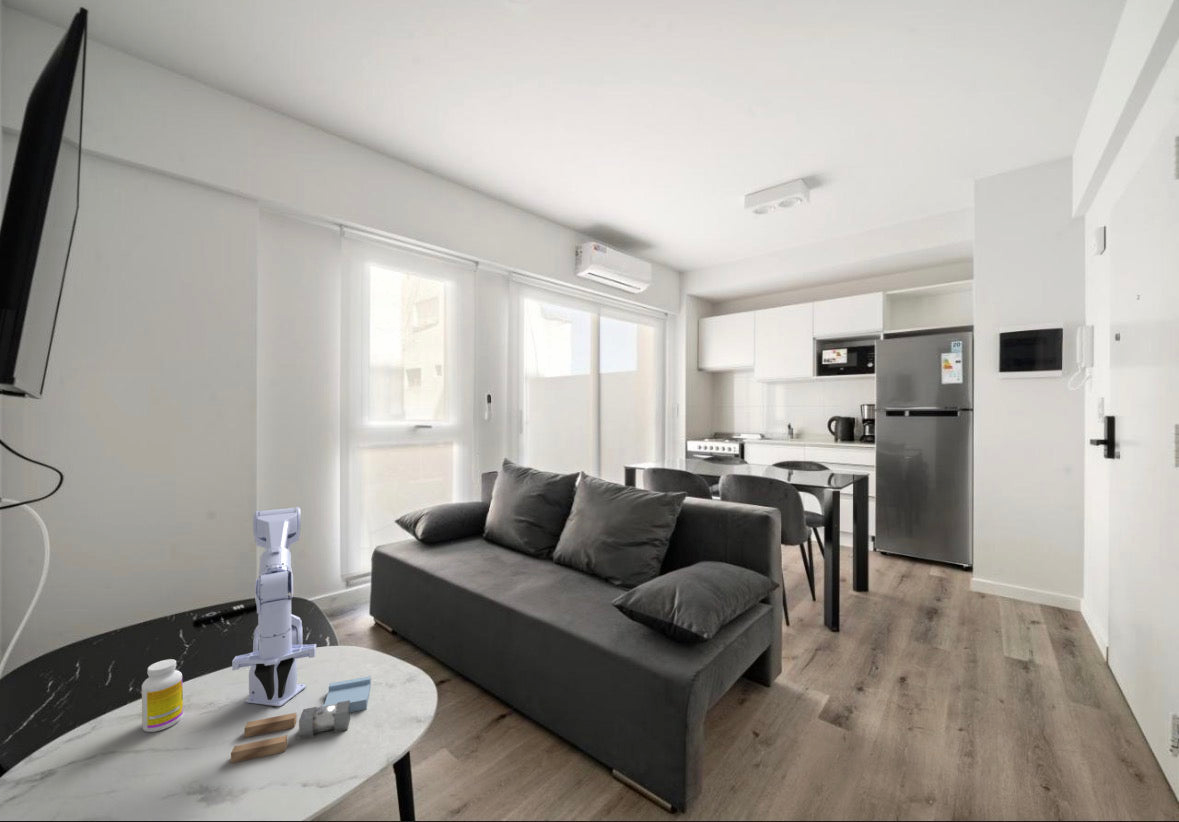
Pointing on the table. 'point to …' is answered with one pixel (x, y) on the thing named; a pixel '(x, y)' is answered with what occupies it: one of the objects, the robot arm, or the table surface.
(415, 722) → the table surface
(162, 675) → the supplement bottle
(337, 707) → the silver boxy piece
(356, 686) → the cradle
